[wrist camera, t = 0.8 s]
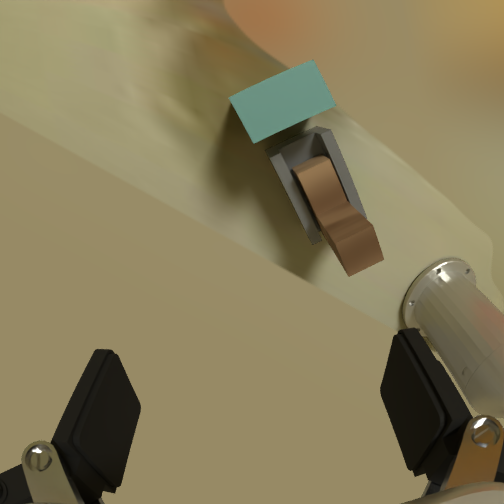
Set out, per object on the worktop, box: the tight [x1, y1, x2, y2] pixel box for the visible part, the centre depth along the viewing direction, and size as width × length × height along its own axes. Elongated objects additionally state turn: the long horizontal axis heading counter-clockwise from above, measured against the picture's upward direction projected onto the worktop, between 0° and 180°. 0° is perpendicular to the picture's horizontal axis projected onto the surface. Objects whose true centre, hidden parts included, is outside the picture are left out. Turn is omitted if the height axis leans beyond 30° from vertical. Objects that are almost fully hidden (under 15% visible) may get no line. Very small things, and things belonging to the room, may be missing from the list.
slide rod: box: [292, 154, 384, 277], centre depth 25 cm, size 7×3×9 cm, turn 27°
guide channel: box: [265, 126, 367, 245], centre depth 30 cm, size 9×6×5 cm, turn 27°
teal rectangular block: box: [229, 60, 336, 144], centre depth 25 cm, size 4×7×8 cm, turn 117°
